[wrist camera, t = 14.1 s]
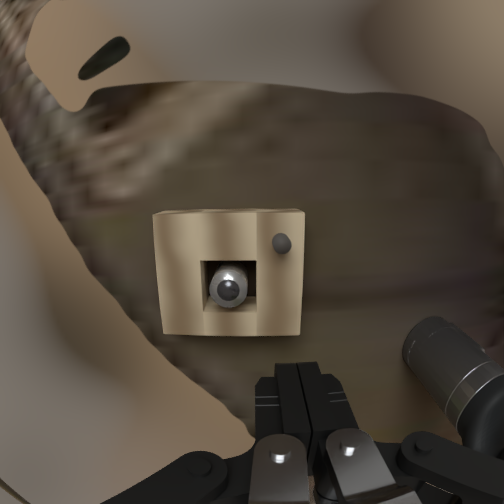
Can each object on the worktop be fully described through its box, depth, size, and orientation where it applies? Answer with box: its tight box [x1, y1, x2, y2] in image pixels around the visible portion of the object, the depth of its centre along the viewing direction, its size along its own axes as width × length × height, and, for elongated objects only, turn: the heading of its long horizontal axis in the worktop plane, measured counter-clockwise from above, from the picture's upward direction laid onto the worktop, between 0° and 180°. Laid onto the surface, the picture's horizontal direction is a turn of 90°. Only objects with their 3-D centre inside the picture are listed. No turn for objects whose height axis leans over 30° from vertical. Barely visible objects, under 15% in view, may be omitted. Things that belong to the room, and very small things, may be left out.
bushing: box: [209, 260, 248, 308], centre depth 35 cm, size 4×4×6 cm
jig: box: [153, 209, 305, 336], centre depth 34 cm, size 16×14×7 cm
